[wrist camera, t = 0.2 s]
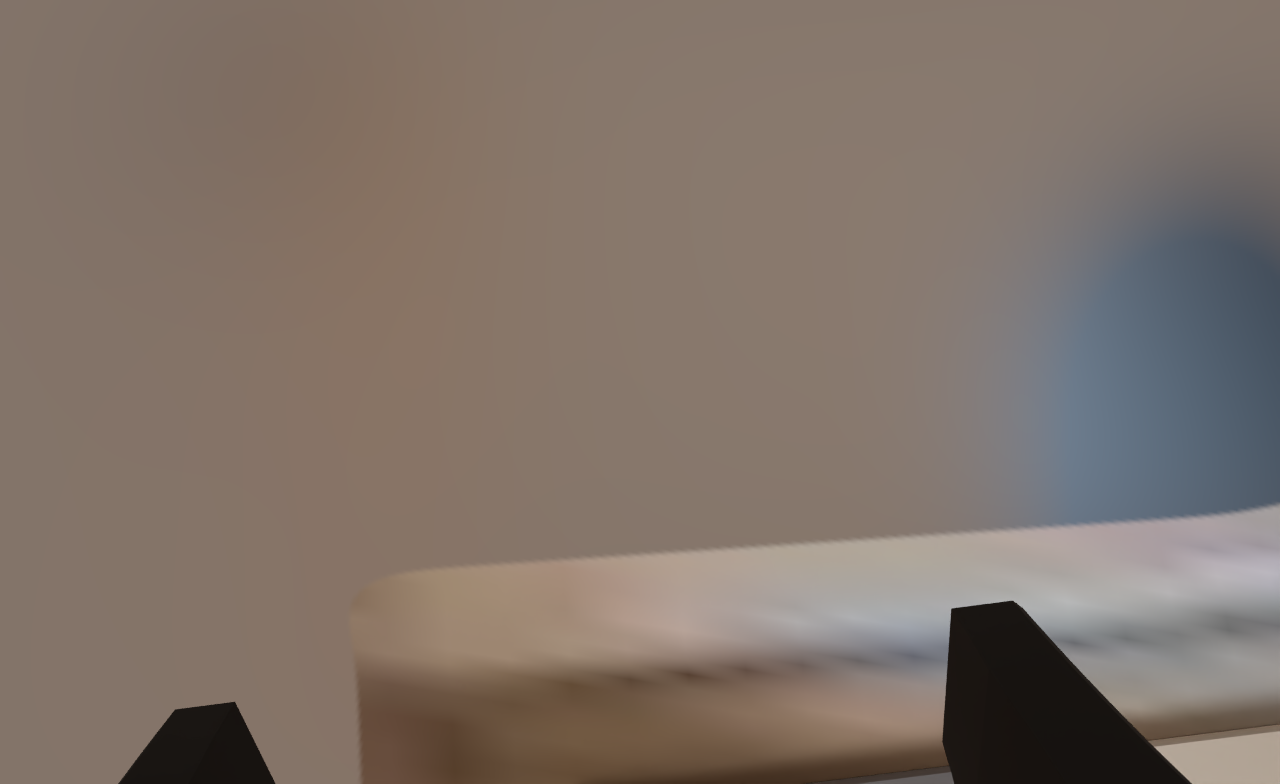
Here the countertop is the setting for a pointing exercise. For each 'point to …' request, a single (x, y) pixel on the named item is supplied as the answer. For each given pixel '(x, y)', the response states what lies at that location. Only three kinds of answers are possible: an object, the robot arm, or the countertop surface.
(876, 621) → the countertop surface
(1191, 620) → the countertop surface
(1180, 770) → the board
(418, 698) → the countertop surface
